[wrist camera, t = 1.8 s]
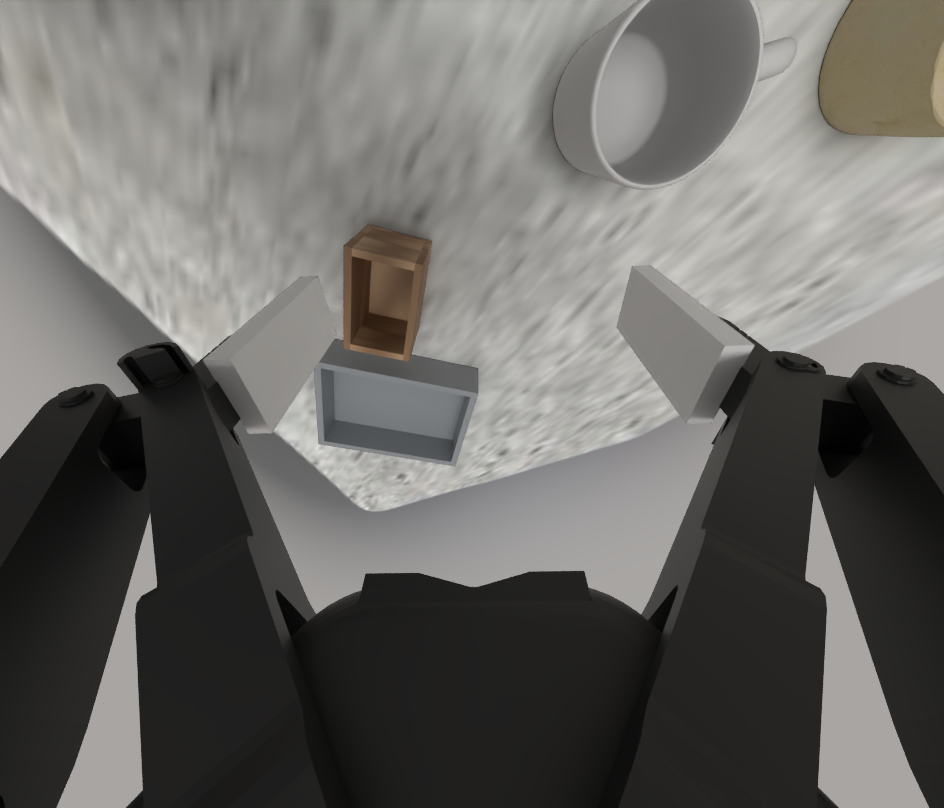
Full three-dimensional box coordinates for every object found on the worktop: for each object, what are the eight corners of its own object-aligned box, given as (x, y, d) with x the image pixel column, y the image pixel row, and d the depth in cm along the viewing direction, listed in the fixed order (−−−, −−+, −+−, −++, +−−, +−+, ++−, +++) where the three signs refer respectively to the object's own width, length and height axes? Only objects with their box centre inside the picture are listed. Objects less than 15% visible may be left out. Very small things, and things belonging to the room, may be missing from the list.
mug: (558, 187, 29) (592, 210, 21) (545, 51, 24) (584, 7, 16) (708, 141, 27) (815, 145, 19) (728, -19, 22) (890, -114, 14)
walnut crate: (364, 314, 37) (343, 348, 31) (368, 224, 31) (343, 245, 25) (419, 326, 38) (408, 361, 32) (432, 241, 32) (422, 265, 26)
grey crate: (331, 417, 46) (318, 444, 42) (329, 337, 38) (313, 361, 35) (456, 439, 48) (455, 466, 45) (477, 368, 41) (478, 393, 37)
